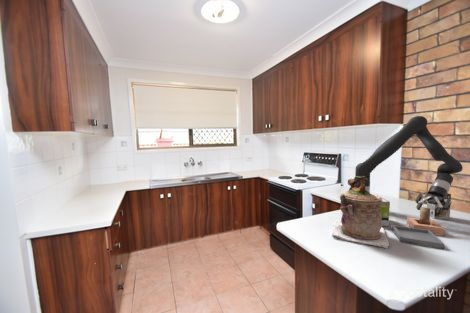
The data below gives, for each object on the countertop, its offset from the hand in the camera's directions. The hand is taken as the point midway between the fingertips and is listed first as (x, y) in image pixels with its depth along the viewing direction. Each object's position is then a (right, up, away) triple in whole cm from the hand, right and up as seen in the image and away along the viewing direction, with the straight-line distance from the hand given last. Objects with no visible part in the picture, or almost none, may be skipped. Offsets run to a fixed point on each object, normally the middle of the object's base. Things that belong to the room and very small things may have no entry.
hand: (427, 211), depth 115 cm
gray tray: (-16, -11, -10) cm, 22 cm away
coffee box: (+23, -8, +17) cm, 30 cm away
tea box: (-22, -9, +12) cm, 27 cm away
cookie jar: (-42, -11, -5) cm, 43 cm away
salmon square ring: (-2, -10, 0) cm, 10 cm away
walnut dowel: (-2, -10, 0) cm, 10 cm away
